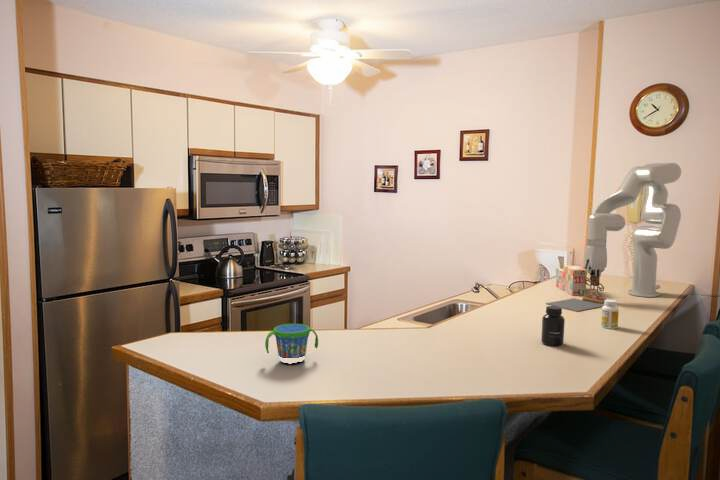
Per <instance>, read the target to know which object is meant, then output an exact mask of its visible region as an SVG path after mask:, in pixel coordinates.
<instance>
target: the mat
mask: <svg viewBox="0 0 720 480" xmlns="http://www.w3.org/2000/svg"><path fill="white" fill-rule="evenodd" d="M545 305H547V306H557V307H561V308H562V310H563V309H564V310H568V311H572V312H576V313H579V312H583V311H588V310H594V309H599V308H602V307H603V306H605V304H600V303H594V302H589V301H584V300H582V299H577V298H568V299H567V298H566V299H563V300H562V299H561V300H557V301H549V302H545ZM578 311H579V312H578Z"/></svg>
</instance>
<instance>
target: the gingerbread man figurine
mask: <svg viewBox="0 0 720 480" xmlns="http://www.w3.org/2000/svg"><path fill="white" fill-rule="evenodd" d="M591 276H596V275H591ZM591 276H590V275H589V277H587V278H585V279H586V280H585V279H584V281H585V283H586V286H589V291H588V293H587V294H586V295H585V296H582V298H581V300H584V301H588V302H593V303H597V304H602V305H605V304H604V301H605V300H607V299H606V297H603V296H602V294H601V293H600V292H604V290H605V287H604V285H603V284H602V283H600V279H599V278H598V276H596V277H597V278H594V277H592V278H591ZM591 279H592V280H591ZM593 279H595V280H596V279H597V280H598V281H599V283H597V282H598V281H597V280H596V281H597V282H596V281H594V280H593ZM588 282H589V283H592V285H590V284H589V283H588ZM593 282H594V283H593ZM593 284H595V285H596V284H599V286H595V285H593ZM592 286H593V287H592ZM600 286H601V287H600ZM591 291H594V292H593V293H592V294H590V292H591ZM596 292H597V293H598V295H597V294H596Z"/></svg>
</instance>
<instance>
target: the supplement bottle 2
mask: <svg viewBox="0 0 720 480" xmlns="http://www.w3.org/2000/svg"><path fill="white" fill-rule="evenodd" d="M617 303H618V301H617V300H614V299H606V300H605V301H604V304H603V305H605V306H603V307H601V323H600V324H601V327H602V328H604V329H609V330H615V329H618V327H619V307H618V306H617Z"/></svg>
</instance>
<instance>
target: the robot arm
mask: <svg viewBox="0 0 720 480" xmlns="http://www.w3.org/2000/svg"><path fill="white" fill-rule="evenodd" d="M681 175H682V168H681V166H680V165H679V164H678V163H676V162H657V163H656V162H654V163H652V162H651V163H647V164H644V165H640V166H634V167H632V168H631V169H630V170H629V171H628V172H627V174H626V176H625V177H624V179H623V180H622V182H621V184H620V185H619V186H618V188H617V191H616V192H614V193H613V194H611V195H609V196H608V197H607V198H605V199H604V200H603V201H601V202H600V203H599V204H598V205H597V206H596V209H594V212H593V214H590V215H589V216H588V220H587V237H586V238H587V241H586V246H585V249H584V255H583V264H582V266H583V267H582V268H584V269H585V270H586V272H587V274H589V277H590V276H591V275H596V276H598V278H599V281H598V280H597V279H596V280H597V281H598V282H597V281H596V280H595V279H593V280H594V281H596V282H597V283H600V279H601V275H602V272H605V269H606V268H607V265H608V251H607V237H608V236H607V235H608V232H619V231H621V230H622V229H624V227H625V226H626V220H625V217H624V216H622V215H621V214H618V213H612V212H614V211H615V210H617V209H620V208H623V207H626V206H628V205H631V204H633V203H634V202H635V201H636V200H637V199H638V197H639V195H640V193H641V192H642V190H643V189H644V187H645V188H646V195H645V196H646V197H645V200H644V203H643V208H642V212H641V220H642V221H643V222H644V223H645V224H651V225H652V226H651V225H641V226H640V225H639V226H637V227H635V228H634V229H633V231H632V234H631V237H632V238H631V239H632V244H633V263H632V264H633V265H632V286H631V287H632V288H631V289H628V291H627V292H628V294H629V295H632V296H635V297H642V298H657V297H659V296H660V292H658V291H657V290H659V289H660V288H661V285H660V284H657V269H658V254H657V251H656V250H655V249H662V250H666V249H669V248H671V247H672V246H673V245H674V243H675V241H676V237H677V233H678V231H679V226H680V223H681V222H680V221H681V216H682V214H681V209H680V207H679V206H678V205H677V204H674V203H667V201H668V197H669V192H668V189H667V188H666V184H672V183H675V182H676V181H678V180H679V179H680V177H681ZM653 225H660V226H653ZM596 276H591V278H592V277H594V278H597V277H596ZM591 280H592V279H591ZM589 283H590V282H589ZM593 283H594V282H593ZM589 285H591V286H593V285H595V284H593V285H592V283H590V284H589ZM597 286H599V287H600V284H596V285H595V286H594V287H597Z"/></svg>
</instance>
